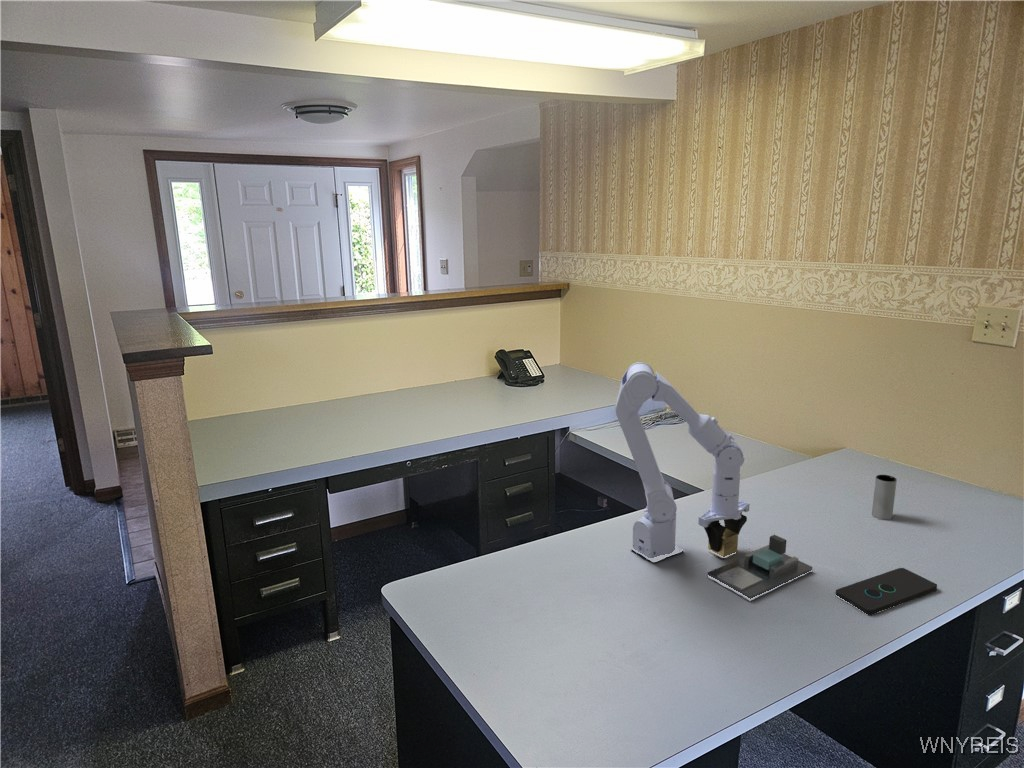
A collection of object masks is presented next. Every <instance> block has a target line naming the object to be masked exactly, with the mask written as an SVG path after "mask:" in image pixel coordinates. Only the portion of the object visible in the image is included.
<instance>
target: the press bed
mask: <svg viewBox="0 0 1024 768" xmlns="http://www.w3.org/2000/svg"><path fill="white" fill-rule="evenodd" d="M766 548H767V549H769V544H767V545H765V546H762V547H760V548H758V549H756V550H754V551H750V552H749V553H747V554H744V556H743V557H741V558H738V559H736V560H734V561H731V562H729V563H726V564H725V565H723V566H720V567H717V568H716V569H712V570H711V571H709V572H707V575H709V576H711V577H713V578H715V579H717V580H719V581H720V582H722V583H724V584H726V585H728V586H729V587H731V588H733V589H734V590H736V591H738V592H740V593H742V594H743V595H745V596H747V597H748V598H750V599H751V598H753V597H755V596H757V595H760V594H762V593H764V592H766V591H769V590H771V589H773V588H775V587H777V586H779V585H781V584H783V583H786V582H788V581H789V580H792V579H794V578H796V577H798V576H800V575H802V574H805V573H807V572H809V571H811V570H812V571H813V566H812V565H809V564H807V563H805V562H803V561H801V560H799V557H796V556H790V555H788V554H785V553H784V554H781V555H782V556H783V560H782V562H781V563H779V564H777V565H774V566H772V567H770V570H767V569H765V568H763V567H761V566H759V565H757V564H755V563H753V554H755V553H757V552H759V551H762V550H764V549H766Z"/></svg>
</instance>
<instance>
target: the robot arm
mask: <svg viewBox="0 0 1024 768" xmlns="http://www.w3.org/2000/svg"><path fill="white" fill-rule="evenodd" d="M649 399H652V402H664V403H665V404H666V405H667V406H668V407H670V408H671V410H672V411H674V412H675V413H676V414H677V415H678V416H679V417H680V418H681V419H682V420H683V421H685V423H686V424H688V430H687V431H688V434H689V435H690V436H691V437H692V438H693V439H695V441H696V442H698V444H699V445H700V446H701V447H702V448H703V449H704V451H706V452H708V453H709V454H712V457H714V458H715V459H714V463H713V472H712V489H711V491H712V492H711V507H709V508H708V510H706V511H705V512H704V513H703V514H701V515H699V516H698V522H697V523H698V525H699V526H701V527H702V528H703V529H704V530H705V533H706V535H707V539H708V540H709V543H710V548H711V549H712V550H714V551H716V552H719V551H720V548H721V541H722V537H723V533H724V531H725V529H726V528H727V529H729V530H731V531H733V532H735V533H737V534H738V536H739V535H740V532H741V530H742V528H743V526H744V525H745V524H746V522H747V521H748V517H747V516H746V515H744V514H743V512H745V513H747V512H750V505H751V504H750V503H749V502H746V501H744V500H741V501H739V500H740V487H741V486H740V483H741V472H740V471H741V467H742V466H743V464H744V462H745V457H744V453H743V451H742V449H741V447H740V446H739V444H738V442H737V441H736V440H735V438H734V437H733V435H732V434H731V433H727V432H725V430H724V429H723V428H721V427H720V425H719V424H718V423H719V421H718V419H717V418H716V417H715V416H712V417H711V416H710V415H708V414H704V413H703V414H701V413H698V411H697V410H695V409H694V407H693V406H692V405H691V404H690V403H689V401H687V400H686V398H684V396H683V395H682V394H681V393H680V392H679V391H678V390H677V388H675V387H674V386H673V385H672V383H670V381H668V380H667V378H665V377H664V376H663V375H662V374H661V373H659V372H658V371H655V372H654V370H653V367H652V366H651V365H650V364H648V363H646V362H642V361H639V362H638V361H637V362H633V363H632V364H631V365H629V367H628V368H627V369H626V371H625V372H624V374H623V375H622V377H621V381H620V386H619V388H618V393H617V397H616V402H615V405H614V408H615V409H614V410H615V414H616V417H617V420H618V423H619V426H620V427H621V430H622V433H623V435H624V438H625V440H626V442H627V446H628V448H629V451H630V454H631V456H632V460H633V461H634V464H635V466H636V469H637V471H638V474H639V477H640V479H641V482H642V486H643V489H644V495H645V498H646V504H647V505H646V507H645V508H644V509H643V515H642V516H641V518H640V519H638V520H636V521H635V522H634V523H633V525H632V547H633V548H634V549H635V550H637V551H638V552H640V553H642V554H644V555H645V556H647V557H648V558H654V557H657V556H660V555H665V554H670V553H672V552H673V551H674V550H675V546H676V534H677V531H676V530H677V504H676V502H675V498H674V494H673V493H674V492H673V488H672V486H671V485H670V484H669V483H668V482H667V481H666V480H665V478H664V476H663V473H662V472H661V469H660V467H659V465H658V461H657V459H656V456H655V454H654V451H653V449H652V446H651V444H650V441H649V438H648V436H647V433H646V429H645V428H644V425H643V423H642V419H641V417H640V414H639V412H640V410H641V408H642V407H643V405H644V403H646V402H647V401H648V400H649ZM720 521H723V523H724V525H723V524H721V522H720Z"/></svg>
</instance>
